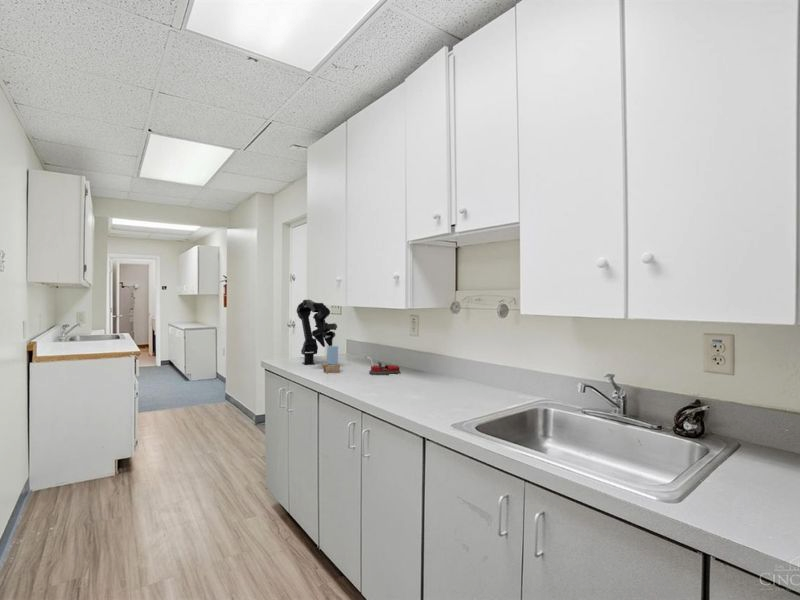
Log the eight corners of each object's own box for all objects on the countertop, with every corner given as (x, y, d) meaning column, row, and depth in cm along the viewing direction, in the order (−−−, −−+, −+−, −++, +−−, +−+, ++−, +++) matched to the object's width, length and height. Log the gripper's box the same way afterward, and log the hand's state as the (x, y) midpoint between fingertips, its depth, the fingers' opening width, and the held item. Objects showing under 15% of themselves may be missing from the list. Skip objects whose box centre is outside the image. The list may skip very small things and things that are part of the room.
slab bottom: (323, 372, 237) (323, 368, 237) (335, 372, 240) (335, 367, 240) (326, 374, 231) (327, 370, 231) (339, 374, 234) (339, 369, 234)
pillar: (326, 363, 237) (327, 346, 237) (333, 363, 239) (334, 345, 240) (330, 364, 233) (331, 346, 233) (337, 364, 236) (338, 346, 236)
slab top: (322, 368, 236) (322, 364, 236) (333, 367, 241) (333, 363, 241) (328, 370, 231) (329, 365, 231) (339, 369, 235) (339, 364, 235)
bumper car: (402, 375, 234) (402, 356, 234) (367, 376, 228) (367, 357, 228) (396, 371, 244) (397, 354, 244) (363, 373, 237) (363, 355, 237)
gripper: (325, 315, 238) (332, 340, 234) (339, 319, 256) (346, 343, 251) (308, 322, 241) (315, 348, 236) (323, 326, 258) (330, 350, 254)
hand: (327, 347), depth 244 cm, fingers open, 9 cm apart
